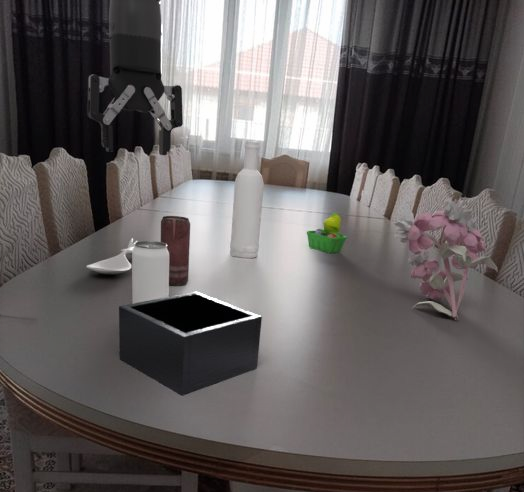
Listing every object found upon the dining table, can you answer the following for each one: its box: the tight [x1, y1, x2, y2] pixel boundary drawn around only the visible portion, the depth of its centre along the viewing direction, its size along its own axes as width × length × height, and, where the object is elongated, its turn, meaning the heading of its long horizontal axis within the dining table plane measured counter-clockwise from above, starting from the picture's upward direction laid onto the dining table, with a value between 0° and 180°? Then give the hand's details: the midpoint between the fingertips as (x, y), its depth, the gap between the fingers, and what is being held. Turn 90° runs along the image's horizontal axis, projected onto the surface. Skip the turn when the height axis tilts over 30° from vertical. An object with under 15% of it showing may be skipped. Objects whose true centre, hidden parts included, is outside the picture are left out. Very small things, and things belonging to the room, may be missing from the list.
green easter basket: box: [305, 212, 348, 254], centre depth 162 cm, size 11×9×11 cm
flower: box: [392, 195, 499, 323], centre depth 111 cm, size 20×22×25 cm
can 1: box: [131, 240, 170, 304], centre depth 93 cm, size 6×6×12 cm
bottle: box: [229, 139, 265, 259], centre depth 140 cm, size 8×8×30 cm
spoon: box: [85, 237, 138, 275], centre depth 124 cm, size 9×32×4 cm, turn 173°
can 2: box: [160, 215, 191, 287], centre depth 111 cm, size 6×6×14 cm
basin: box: [118, 291, 263, 396], centre depth 73 cm, size 14×14×8 cm
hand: (136, 153), depth 82 cm, fingers open, 8 cm apart
